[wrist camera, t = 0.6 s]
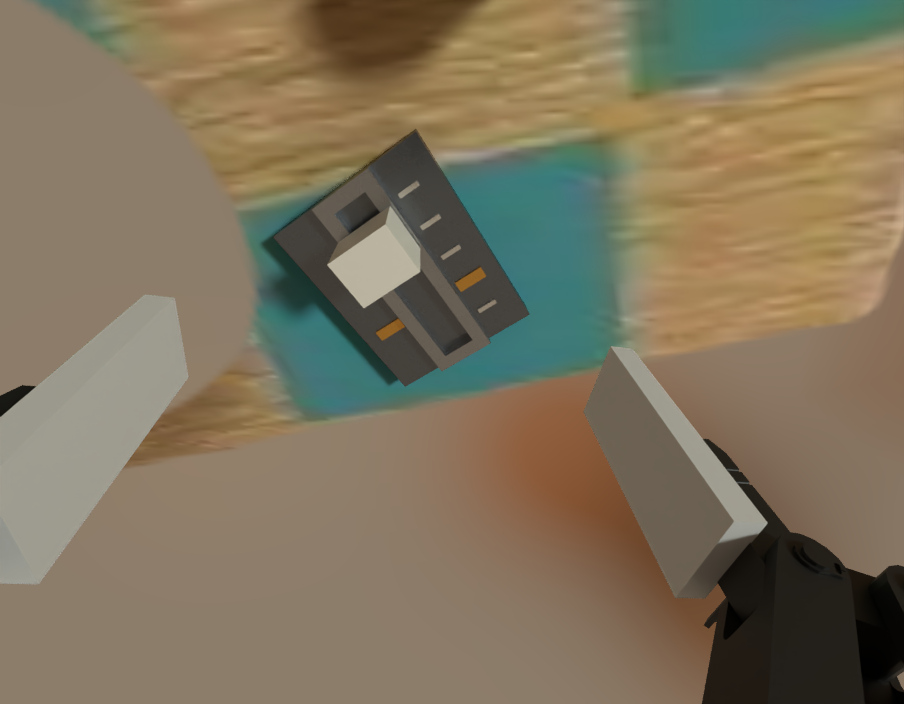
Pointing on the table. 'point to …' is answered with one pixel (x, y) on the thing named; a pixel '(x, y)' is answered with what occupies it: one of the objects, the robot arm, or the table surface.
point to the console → (441, 264)
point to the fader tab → (376, 258)
